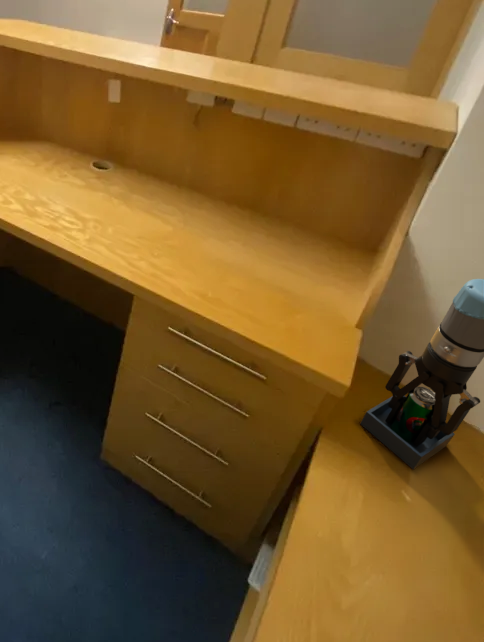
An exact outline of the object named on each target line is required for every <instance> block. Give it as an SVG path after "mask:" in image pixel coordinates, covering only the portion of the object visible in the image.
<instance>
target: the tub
mask: <svg viewBox="0 0 484 642" xmlns="http://www.w3.org/2000/svg"><path fill="white" fill-rule="evenodd" d="M392 397H393V395H392V396H389V398H387V399H386V400H384V401H382V402H380V403H379V404H377V405H375V406H374V407H372V408H370V409H369V410H367V411H366V412H365V413H364V415H363V418H362V420H361V421H360V423H359V424H360V425H361V426H362V428H364V429H365V430H367V431H368V432H369V433H370V434H371V435H372V436H374V437H375V438H376V439H377V440H378V441H379V442H381V443H382V445H384V446H385V447H387V448H388V450H390V451H391V452H393V453H394V455H396V456H397V457H398V458H399V459H400V460H402V461H403V462H404V463H405V464H406V465H408V467H410V468H411V469H412V470H415V469H416V468H417V467H419V466H420V465H422V464H423V463H425V462H427V460H429V459H430V458H432V457H433V456H435V455H436V454H437V453H439V452H441V451H442V450H444V449H445V448H446V447H447V446H448V445H449V443H450V442H451V440H452V439H453V438H454V436H455V434H456V433H454V432H453V433H451V434H450V435H445V434H444V433H443V431H440V432H439V433H438V435H437V436H436V437H434V438H433V439H429V438H428V437H427V439H426V440H425V442H423V443H422V444H420V445H419V446H417V447H416V446H415V445H414V444H413V443H414V442H406V441H405V440H403V439H402V438H401V437H400V436H398V435H397V434H396V433H395V432H394V431H392V430H391V427H390V424H391V423H389V424H388V423H387V422H386V421H385V420H386V419H387V417H388V415H389V413H390V412H391V410H392V409H391V408H390V407H389V406H388V404H389V402H390V400H391V398H392ZM405 397H407V395H405ZM431 420H432V419H431Z"/></svg>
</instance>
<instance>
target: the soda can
mask: <svg viewBox="0 0 484 642" xmlns="http://www.w3.org/2000/svg"><path fill="white" fill-rule="evenodd" d="M434 397H435V392H433V391H432V390H431V389H430V388H429V387H426V386H418V387H416V388H414V389H413V390H411V391H410V392H409V393H408V394H406V398H405V400H404V402H403V403H402V405H401V407H400V409H399V410H398V412H397V414H396V415H395V417H394V419H393V420H392V422H391V424H390V427H391V430H392V431H394V432H395V433H396V434H397V435H398V436H400V437H401V438H402V439H403V440H405V441H406V442H414V441H415V440H416V438H417V437H418V435H419V434H420V432H421V430H422V429H423V427H424V426H425V424H426V423H428V422H429V421H431V419H432V417H433V411H434V405H435V398H434Z"/></svg>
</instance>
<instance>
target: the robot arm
mask: <svg viewBox="0 0 484 642" xmlns="http://www.w3.org/2000/svg"><path fill="white" fill-rule="evenodd" d="M483 360H484V278H473V279H470V280H467V281H466V282H465V283H464V284H463V286H462V287H461V288H460V289H459V291H458V292H457V293H456V295H455V296H454V297H453V299H452V303H451V304H450V306H449V308H448V310H447V311H446V313H445V315H444V316H443V318H442V320H441V322H440V323H439V325H438V327H437V329H436V330H435V332H434V334H433V335H432V337H431V339H430V341H429V342H428V344H427V346H426V347H425V348H424V350H423V353H422V354H421V355H420V356H419V357H418V356H416V355H413V352H411V351H410V350H407V351H405V352H403V353H401V354H399V355H398V364H397V366H396V368H395V369H394V371H393V372H392V374H391V375H390V377H389V378H388V381H387V383H386V384H385V389H386V390H387V392H388V391H389V392H390V393H391V394H392V396H393V397H392V396H391V397H392V398H391V400H390V402H389V404H388V406H389V407H390V408H391V409H392V410H391V412H390V413H389V415H388V417H387V419H386V420H385V421H386V422H387V423H388V424H389V423H391V422H392V420H393V419H394V417H395V415H396V414H397V412H398V410H399V409H400V407H401V405H402V403H403V402H404V400H405V398H406V397H407V395H408V393H409V392H410V391H411V390H413V389H414V388H416V387H420V386H421V385H424V387H426V388H428V389H430V390H431V391H433V392H434V393H435V397H434V398H435V405H434V411H433V417H432V420H431V421H429V422H428V423H426V424H425V426H424V427H423V429H422V430H421V432H420V434H419V435H418V437H417V438H416V440H415V441H414V443H413V444H414V445H415V446H416V447H417V446H419V445H420V444H422V443H423V442H425V440H426V439H427V437H428V438H429V439H433V438H434V437H436V436H437V435H438V433H439V432H440V431H443V433H444V434H445V435H450V434H451V433H454V432H456V431H457V430H458V429H459V427H460V426H461V424H462V422H463V421H464V419H466V416H467V415H468V414H469V412H470V411H471V409H473V408H474V407H476V406H478V405H479V404H480V403H481V399H480V398H479V397H477V396H473V395H472V394H470V393H469V391H468V390H467V389H468V385H467V383H468V382H469V380H470V378H471V377H472V376H473V374H474V372H475V371H476V369H477V367H478V366H479V365H480V364H481V362H482V361H483ZM413 365H415V369H416V373H417V376H416V377H415V378H413V379H412V380H411V381H409V382H408V383H407V384H405V385H404V386H402V387H401V388H400V387H399V386H400V385H401V383H402V381H403V379H404V377H405V376H406V374H407V373H408V371H409V370H410V368H411V366H413ZM453 395H460V398H459V401H458V403H459V405H458V406H456V408H455V410H454V411H453V412H452V414H451V416H450V417H449V419H448V421H447V416H448V412H449V405H450V400H451V397H452V396H453ZM405 396H406V397H405Z"/></svg>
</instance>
